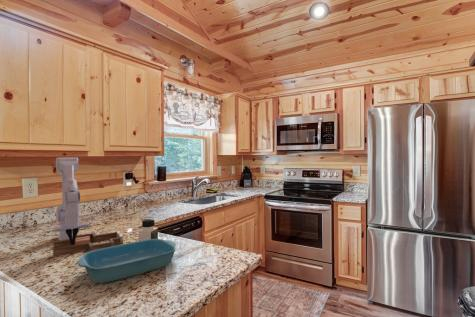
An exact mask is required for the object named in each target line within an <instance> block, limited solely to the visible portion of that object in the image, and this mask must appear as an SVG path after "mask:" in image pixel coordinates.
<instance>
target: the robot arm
mask: <svg viewBox="0 0 475 317" xmlns="http://www.w3.org/2000/svg"><path fill="white" fill-rule="evenodd" d="M78 168H79V158H78V157H77V156H75V157H71V156H70V157H59V156H58V157H56V158H55V169H56V173H57V174H60V176H61V192H62V193H61V198H62V202H61V204H60V205H58V206H57V207H56V211H55V212H56V213H55V220H56V222H57V223H59V225H58V226H54V227H53V233H57V232H59V235H58V241H61V240H68V239H70V243H71V245H74V242H75V238H76V236H77V235H79V232H80V229H85V228H86V229H87V228H89V229H90V227H91V225H90V222H85V223H84V222H83V223H80V202H81V193H80V192H81V191H80V189H79V187H78V181H77V180H76V179H75V173H77V171H78ZM72 236H73V238H72Z"/></svg>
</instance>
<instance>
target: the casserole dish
mask: <svg viewBox="0 0 475 317" xmlns="http://www.w3.org/2000/svg"><path fill="white" fill-rule="evenodd" d="M175 252H176V243H175V242H174V241H172V240H169V239H162V238H158V239H149V240H143V241H138V240H137V241H134V242H129V243H127V242H126V243H124V244H123V243H121V244H116V245H114V246H112V247H107V248H102V249H97V250H93V251H90V252H89V251H88V252H85V253H84V254H82V256H81V257H80V258H79V259H78V260H77V261H76V264H77V266H79V267H80V268H85V270H86V272H87V275H88V276H89V277H90V279H91V280H92V281H94V282H95V283H99V284H104V282H106V283H110V281H111V282H115V281H114V280H116V281H118V279H119V280H123V279H127V278H131V277H133V275H134V276H137V275H141V274H140V273H142V274H145V273H148V272H147V271H149V272H151V270H152V271H155V270H158V268H159V269H161V267H162V268H164V267H166V266H168V265H169V264H170V263H171V262H172V260H173V258H174V254H175ZM154 269H155V270H154ZM144 272H145V273H144ZM130 276H131V277H130ZM126 277H127V278H126ZM122 278H123V279H122Z"/></svg>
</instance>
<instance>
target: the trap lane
mask: <svg viewBox="0 0 475 317" xmlns="http://www.w3.org/2000/svg"><path fill="white" fill-rule="evenodd" d="M86 236H90V242H88V243H82V244H76V245H75V242H74V245H71V243H70V239H66V240H60V241H59V240H55V241H53V242H52V243H53V246H52V247H53V249H52V256H60V255H66V254H71V253H76V252H77V253H78V252H82V251H87V250H88V252H90V251H93V250H97V249H102V248H107V247H112V246H117V245H122V244H123V243H124V235H123V234H122V233H121V232H120V231H119V230H116V231H115V232H114V231H113V232H107V233H106V232H105V233H100V234H96V232H90V233H84V234H77V236H76V238H78V237H86ZM72 238H73V236H72ZM76 238H75V240H76ZM107 240H108V241H107ZM100 241H101V243H96V242H100ZM102 241H107V242H102ZM93 243H96V244H93Z"/></svg>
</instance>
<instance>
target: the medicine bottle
mask: <svg viewBox="0 0 475 317" xmlns="http://www.w3.org/2000/svg"><path fill="white" fill-rule="evenodd" d="M155 223H156V222H155V219H153V218H145V219H143V220H142V221H141V229H139V230H138V231H137V232H138V233H137V234H138V238H137V241H143V240H149V239H159V227H155Z"/></svg>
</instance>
